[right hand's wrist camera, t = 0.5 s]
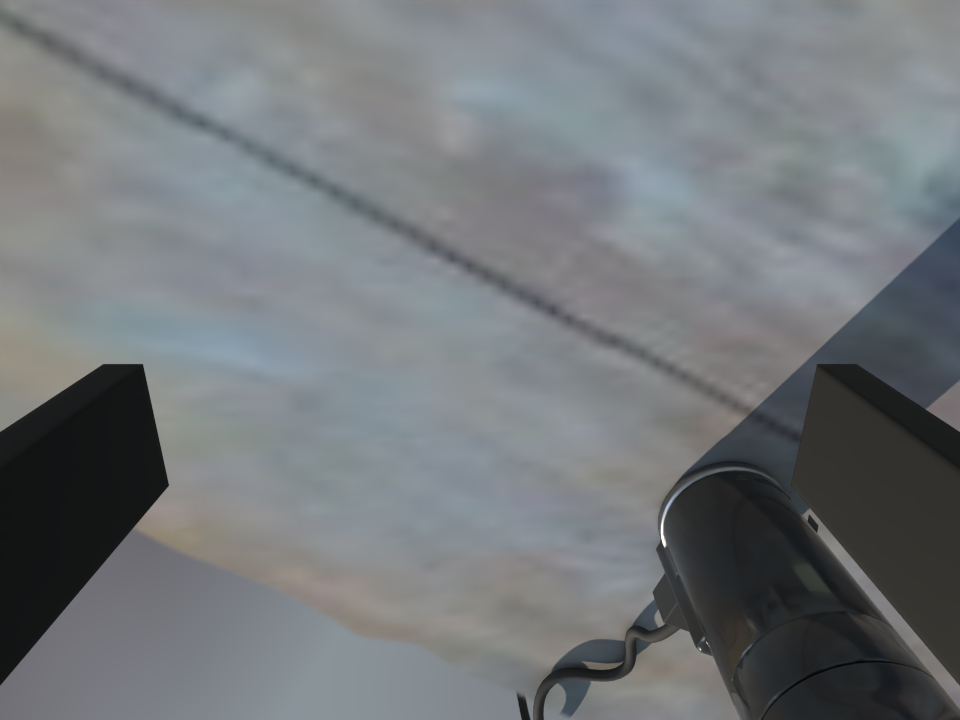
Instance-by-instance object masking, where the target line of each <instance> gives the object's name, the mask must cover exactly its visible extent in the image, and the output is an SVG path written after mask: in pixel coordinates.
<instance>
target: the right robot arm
mask: <svg viewBox="0 0 960 720" xmlns="http://www.w3.org/2000/svg"><path fill="white" fill-rule="evenodd" d="M168 486H169V484H168V479H167V474H166V470H165V465H164V460H163V456H162V451H161V446H160V442H159V437H158V432H157V428H156V423H155V418H154V414H153V409H152V405H151V400H150V395H149V391H148V386H147V381H146V377H145V372H144V367H143V364H103V365H102V366H100V367H99V368H97V369H95V370H94V371H92V372H91V373H89V374H88V375H86V376H85V377H83V378H82V379H80V380H79V381H77V382H76V383H74V384H73V385H71V386H70V387H68V388H67V389H65V390H64V391H62V392H60V393H59V394H57V395H56V396H54V397H53V398H51V399H50V400H48V401H47V402H45V403H44V404H42V405H41V406H39V407H38V408H36V409H35V410H33V411H32V412H30V413H29V414H27V415H25V416H24V417H22V418H21V419H19V420H18V421H16V422H15V423H13V424H12V425H10V426H9V427H7V428H6V429H4V430H3V431H1V432H0V685H1V684H2V683H3V682H4V680H5V679H6V678H7V677H8V676H9V674H10V673H11V672H12V671H13V670H14V669H15V667H16V666H17V665H18V664H19V663H20V661H21V660H22V659H23V658H24V657H25V656H26V654H27V653H28V652H29V651H30V650H31V648H32V647H33V646H34V645H35V644H36V642H37V641H38V640H39V639H40V638H41V637H42V635H43V634H44V633H45V632H46V631H47V629H48V628H49V627H50V626H51V625H52V624H53V622H54V621H55V620H56V619H57V618H58V616H59V615H60V614H61V613H62V612H63V610H64V609H65V608H66V607H67V606H68V605H69V603H70V602H71V601H72V600H73V599H74V597H75V596H76V595H77V594H78V593H79V591H80V590H81V589H82V588H83V587H84V586H85V584H86V583H87V582H88V581H89V580H90V578H91V577H92V576H93V575H94V574H95V573H96V571H97V570H98V569H99V568H100V567H101V565H102V564H103V563H104V562H105V561H106V559H107V558H108V557H109V556H110V555H111V554H112V552H113V551H114V550H115V549H116V548H117V546H118V545H119V544H120V543H121V542H122V541H123V539H124V538H125V537H126V536H127V535H128V533H129V532H130V531H131V530H132V529H133V527H134V526H135V525H136V524H137V523H138V522H139V520H140V519H141V518H142V517H143V516H144V514H145V513H146V512H147V511H148V510H149V509H150V507H151V506H152V505H153V504H154V503H155V501H156V500H157V499H158V498H159V497H160V495H161V494H162V493H163V492H164V491H165V490H166V488H167V487H168ZM791 486H792V487H793V488H794V490H795V491H796V492H797V493H798V494H799V495H800V497H801V498H802V499H803V500H804V501H805V503H806V504H807V505H808V506H809V507H810V509H811V510H812V511H813V512H814V513H815V514H816V516H817V517H818V518H819V519H820V520H821V522H822V523H823V524H824V525H825V526H826V528H827V529H828V530H829V531H830V532H831V533H832V535H833V536H834V537H835V538H836V539H837V541H838V542H839V543H840V544H841V545H842V546H843V548H844V549H845V550H846V551H847V552H848V554H849V555H850V556H851V557H852V558H853V560H854V561H855V562H856V563H857V564H858V565H859V567H860V568H861V569H862V570H863V571H864V573H865V574H866V575H867V576H868V577H869V578H870V580H871V581H872V582H873V583H874V584H875V586H876V587H877V588H878V589H879V590H880V592H881V593H882V594H883V595H884V596H885V597H886V599H887V600H888V601H889V602H890V603H891V605H892V606H893V607H894V608H895V609H896V610H897V612H898V613H899V614H900V615H901V616H902V618H903V619H904V620H905V621H906V622H907V624H908V625H909V626H910V627H911V628H912V629H913V631H914V632H915V633H916V634H917V635H918V637H919V638H920V639H921V640H922V641H923V642H924V644H925V645H926V646H927V647H928V648H929V650H930V651H931V652H932V653H933V654H934V656H935V657H936V658H937V659H938V660H939V661H940V663H941V664H942V665H943V666H944V667H945V669H946V670H947V671H948V672H949V673H950V674H951V676H952V677H953V678H954V679H955V680H956V682H957V683H958V684H959V685H960V432H959V431H957V430H956V429H954V428H953V427H951V426H950V425H948V424H947V423H945V422H944V421H942V420H941V419H939V418H938V417H936V416H935V415H933V414H931V413H930V412H928V411H927V410H925V409H924V408H922V407H921V406H919V405H918V404H916V403H915V402H913V401H912V400H910V399H909V398H907V397H906V396H904V395H903V394H901V393H900V392H898V391H896V390H895V389H893V388H892V387H890V386H889V385H887V384H886V383H884V382H883V381H881V380H880V379H878V378H877V377H875V376H874V375H872V374H871V373H869V372H868V371H866V370H865V369H863V368H861V367H860V366H858V365H857V364H817V367H816V372H815V377H814V381H813V386H812V391H811V395H810V400H809V404H808V409H807V414H806V418H805V423H804V428H803V432H802V437H801V442H800V446H799V451H798V456H797V460H796V465H795V470H794V474H793V479H792V484H791Z"/></svg>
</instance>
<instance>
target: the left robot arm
mask: <svg viewBox="0 0 960 720" xmlns="http://www.w3.org/2000/svg"><path fill="white" fill-rule="evenodd" d="M658 530H659V535H660V538H661V541H660V544H659V545H658V547H657V549H656V551H657V553H658V556H659V558H660V561H661V563H662V566H663V568H664V571H665V574H664V575H663V577H662V579H661V580H660V582H659V583H658V585H657V586H656V588H655V589H654V591H653V595H654V598H655V601H656V603H657V606H658V609H659V612H660V614H661V617H662V620H663V622H664V623H665V625H663V626H662V627H660V628H658V629H655V630H652V631H649V630H646V629H645V628H643V627H640V626H632V627H631V628H629V629H628V631H627V633H626V637H625V649H626V657H625V660H624V662H623V663H622V664H621V665H620V666H618V667H616V668H613V669H609V670H593V669H584V668H564V669H560V670H557V671H554V672H553V673H551V674H549V675H548V676H547V677H546V678H545V679H544V680H543V681H542V683H541V685H540V686H539V688H538V690H537V693H536V696H535V700H534V707H533V719H534V720H544V717H543V711H544V702H545V698H546V695H547V694H548V692H549V690H550V689H551V688H552V687H553V686H554V685H555V684H557V683H558V682H560V681H563V680H569V679H577V680H588V681H601V682H602V681H614V680H617V679H620V678H622V677H624V676H626V675H627V674H629V673H630V672H631V670H632V669H633V667H634V665H635V661H636V638H637V637H638V638H640V639H641V640H643V641H646V642H650V643H655V642H659V641H662V640H664V639H666V638H668V637H669V636H671V635H672V634H674V633H675V632H676V631H678V630H679V629H683V630H686V631H689V632H690V634H691V637H692V639H693V642H694V644H695V646H696V648H697V649H698V650H699V651H700V652H702V653H704V654H707V655H710V656H713V658H714V660H715V662H716V664H717V667H718V669H719V671H720V674H721V676H722V678H723V681H724V683H725V685H726V688H727V690H728V692H729V695H730V697H731V699H732V702H733V704H734V706H735V708H736V710H737V713H738V715H739V717H740V720H960V709H959V707H958V706H957V705H956V704H955V702H954V701H953V700H952V699H951V698H950V696H949V695H948V694H947V693H946V691H945V690H944V689H943V688H942V687H941V685H940V684H939V683H938V682H937V680H936V679H935V678H934V677H933V675H932V674H931V673H930V672H929V670H928V669H927V668H926V667H925V666H924V664H923V663H922V662H921V661H920V659H919V658H918V657H917V656H916V654H915V653H914V652H913V651H912V649H911V648H910V647H909V646H908V645H907V643H906V642H905V641H904V640H903V638H902V637H901V636H900V635H899V634H898V632H897V631H896V630H895V629H894V628H893V626H892V625H891V624H890V623H889V621H888V620H887V619H886V618H885V616H884V615H883V614H882V613H881V611H880V610H879V609H878V608H877V607H876V605H875V604H874V603H873V602H872V600H871V599H870V598H869V597H868V595H867V594H866V593H865V592H864V590H863V589H862V588H861V587H860V586H859V584H858V583H857V582H856V581H855V579H854V578H853V577H852V576H851V574H850V573H849V572H848V571H847V569H846V568H845V567H844V566H843V565H842V563H841V562H840V561H839V560H838V558H837V557H836V556H835V555H834V553H833V552H832V551H831V550H830V548H829V547H828V546H827V545H826V544H825V542H824V541H823V540H822V539H821V537H820V536H819V535H818V534H817V530H818V525H817V523H816V522H815V521H814V520H813V519H812V517H811V516H810V515H809V518H808V521H807V520H806V519H805V518H804V516H803V515H802V514H801V512H800V511H799V510H798V509H797V508H796V506H795V505H794V504H793V503H792V501H791V499H790V498H789V497H788V495H787V494H786V492H785V490H784V489H783V488H782V487H781V485H780V484H779V483H778V482H777V481H776V479H775V478H773V477H772V476H771V475H770V474H769V473H767V472H766V471H764V470H762V469H760V468H758V467H756V466H753V465H749V464H745V463H737V462H726V463H718V464H713V465H709V466H706V467H703V468H701V469H698V470H696V471H694V472H692V473H691V474H689V475H687V476H686V477H684V478H683V479H682V480H681V481H679V482H678V483H677V484H676V485H675V486H674V487H673V488H672V489H671V491H670V492H669V493H668V495H667V496H666V498H665V499H664V501H663V503H662V506H661V508H660V512H659V517H658ZM517 699H518V704H519V709H520V714H521V719H522V720H531V719H530V716H529V711H528V707H527V702H526V697H524V696H521V695H520V694H518V693H517Z"/></svg>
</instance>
